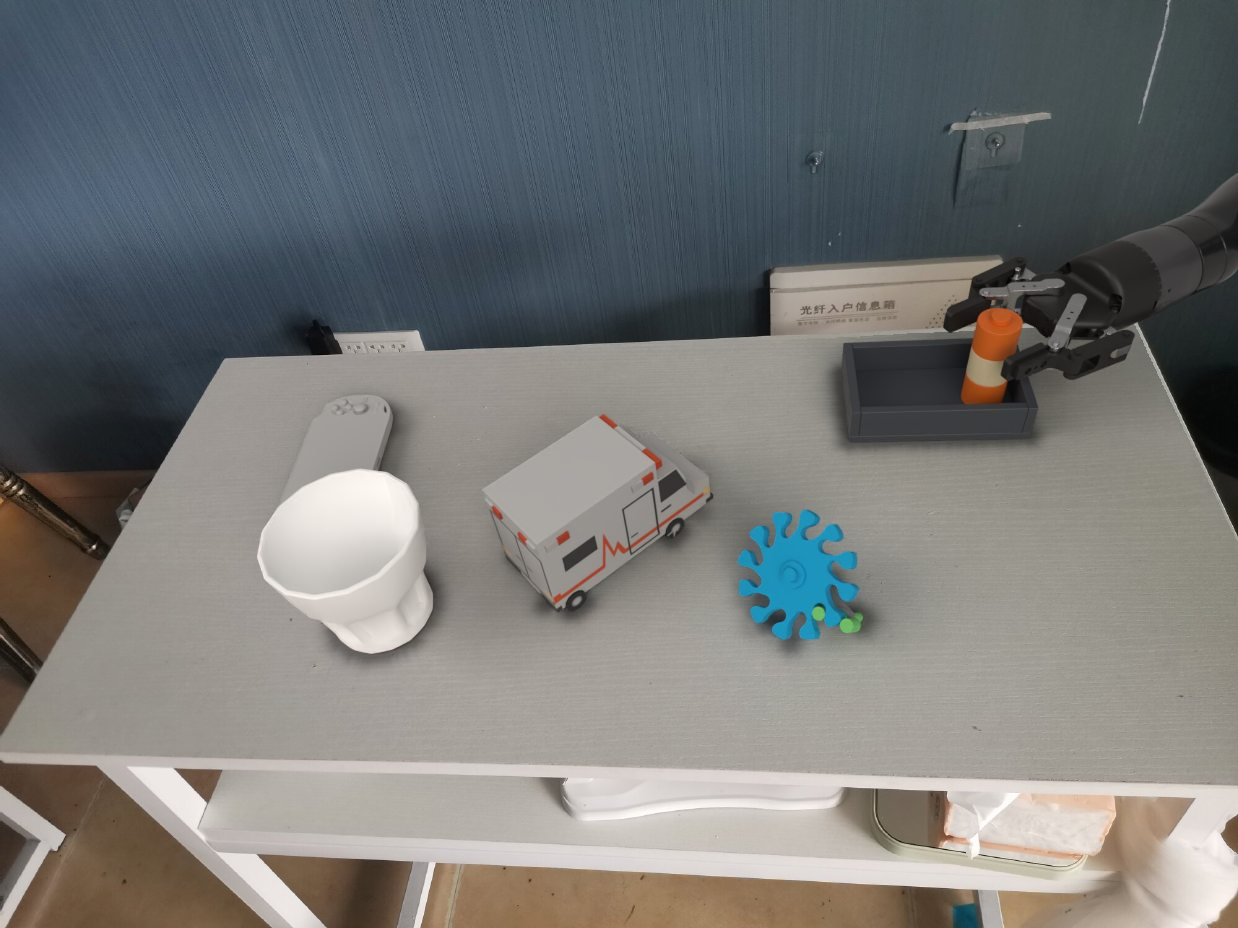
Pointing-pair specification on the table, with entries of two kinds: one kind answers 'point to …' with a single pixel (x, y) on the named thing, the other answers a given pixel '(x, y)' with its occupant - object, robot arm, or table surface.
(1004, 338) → the orange cylinder
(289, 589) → the cup
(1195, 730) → the table surface
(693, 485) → the toy vehicle
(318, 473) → the game console
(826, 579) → the gear
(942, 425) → the bin
